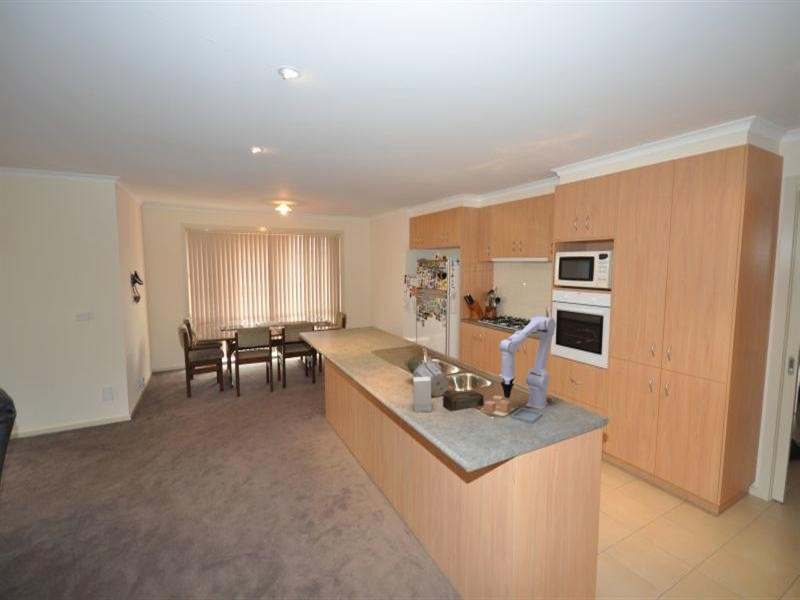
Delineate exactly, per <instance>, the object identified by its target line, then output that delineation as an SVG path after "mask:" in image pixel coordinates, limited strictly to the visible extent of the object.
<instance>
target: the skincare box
mask: <svg viewBox="0 0 800 600" xmlns="http://www.w3.org/2000/svg"><path fill="white" fill-rule="evenodd" d="M412 386H413V409H414V410H413V411H414V413H427V412H428V413H430V412H432V397H431V379H430V377H413V376H412Z"/></svg>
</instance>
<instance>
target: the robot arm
mask: <svg viewBox="0 0 800 600" xmlns="http://www.w3.org/2000/svg"><path fill="white" fill-rule="evenodd" d="M556 324H557V323H556V321H555V319H554V318H553V317H547V316H542V315H534V316H533V317H531V318H530V322H529V323H528V324H527V325H526V326H525V327H523V328H522V330H515V331H514V333H513V334H512V335H510V336H509V337H508V338H507V339H505V338H504V339H503V340H502V341H501V342H500V343H499V345H498V348H499V351H500V355H501V373H499V374H498V377H500V378H502V380H503V381H501V382H500V385H501V388H502V390H503V394H504V398H506V399H510V398H511V392H512V389H513V388H514V385H515V383H514V380H515V378H516V375H515V370H516V369H515V368H516V367H515V366H516V365H515V364H516V361H515V359H516V357H515V356H516V353H518V350H519V348H520V346H521V345H522V344H523V343H525V342H526V341H527V337H528V336H529V335H531V334H533V333H534V332H535V331H536V332H537V333H538V334H539V336H540V339H539V342H538V347H537V351H536V356H535V359H534V360H535V361H534V364H533V367H531V368H530V369H528V372H527V374H526V376H525V383H526V385H527V387H528V402H527V403H526V404H525V406H527V407H530V408H531V407H532V408H535V409H539V410H542V409H544V408H545V407H546V406H548V405H549V403H548V402H547V393H548V392H547V388H548V386H549V385H550V380H549V379H550V374H549V373H548V372H547V370H546V367H547V363H548V359H549V354H550V349H551V345H552V339H553V336H554V333H555V331H556Z"/></svg>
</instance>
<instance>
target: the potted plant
mask: <svg viewBox="0 0 800 600" xmlns="http://www.w3.org/2000/svg"><path fill="white" fill-rule="evenodd" d="M406 366H407V368H408V370H409V372H411V373H412V375H413V376H412V378H413V377H430V379H431V398H438V397H441V396H442V395H444V394H445V393H446V392H447V391H448V388H449V385H450V380H449V378H448V377H447V376H446V374H445V373H444V372H443V371H442V370H443V368H442V366H441V365H440V364H439V362H437V361H436V360H428V361H422V359H421V358H419V357H415V356H412V357H410V358H409V359H408V360H407V363H406Z"/></svg>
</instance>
